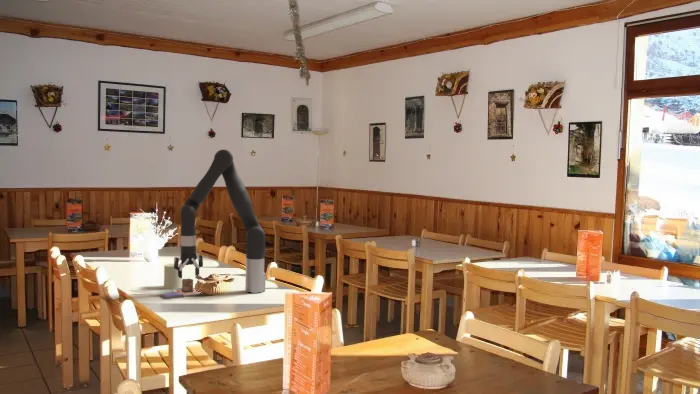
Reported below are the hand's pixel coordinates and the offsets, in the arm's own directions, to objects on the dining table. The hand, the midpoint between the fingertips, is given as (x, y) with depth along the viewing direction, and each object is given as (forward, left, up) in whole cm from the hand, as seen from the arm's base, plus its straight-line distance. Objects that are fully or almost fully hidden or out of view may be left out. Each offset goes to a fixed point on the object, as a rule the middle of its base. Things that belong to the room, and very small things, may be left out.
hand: (188, 276), depth 305 cm
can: (+1, -16, -8) cm, 18 cm away
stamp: (0, 0, -7) cm, 7 cm away
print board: (0, 0, -8) cm, 8 cm away
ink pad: (+10, +5, -8) cm, 14 cm away
